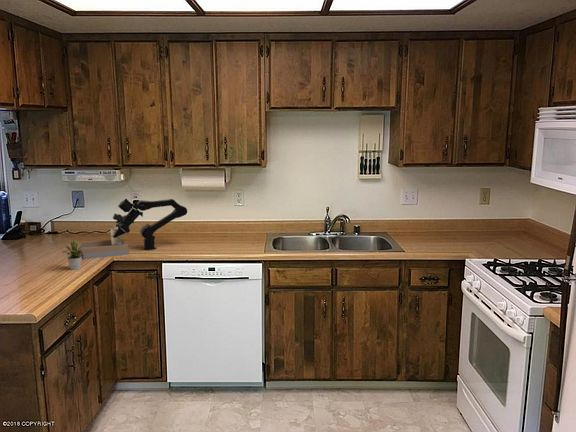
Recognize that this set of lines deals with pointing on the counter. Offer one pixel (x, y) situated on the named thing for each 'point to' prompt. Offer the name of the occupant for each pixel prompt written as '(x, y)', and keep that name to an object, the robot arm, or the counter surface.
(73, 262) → the house plant
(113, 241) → the block
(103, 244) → the channel
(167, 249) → the counter surface
